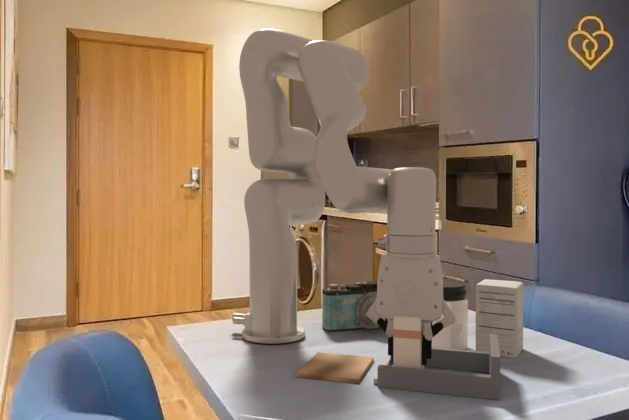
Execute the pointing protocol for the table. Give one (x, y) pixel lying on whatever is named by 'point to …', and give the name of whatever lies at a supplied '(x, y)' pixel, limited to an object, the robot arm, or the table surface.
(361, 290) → the camera
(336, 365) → the cork mat
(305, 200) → the robot arm
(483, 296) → the supplement box
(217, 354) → the table surface
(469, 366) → the frame
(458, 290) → the jar
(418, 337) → the taped cardboard box
